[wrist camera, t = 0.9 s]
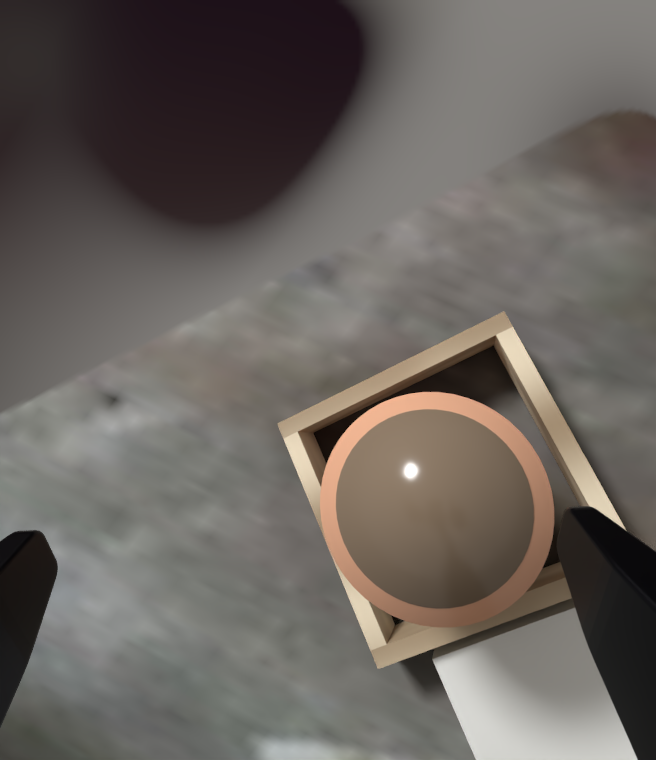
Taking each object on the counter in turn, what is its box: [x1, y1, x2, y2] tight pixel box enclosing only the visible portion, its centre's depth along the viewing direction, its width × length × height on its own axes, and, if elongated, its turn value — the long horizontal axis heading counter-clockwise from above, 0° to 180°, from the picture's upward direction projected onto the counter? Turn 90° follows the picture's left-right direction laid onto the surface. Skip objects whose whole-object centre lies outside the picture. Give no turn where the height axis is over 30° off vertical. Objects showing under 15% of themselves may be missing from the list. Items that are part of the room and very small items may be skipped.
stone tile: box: [432, 598, 638, 760], centre depth 19 cm, size 6×6×2 cm
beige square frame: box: [278, 312, 626, 669], centre depth 20 cm, size 10×10×2 cm
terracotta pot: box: [320, 392, 554, 627], centre depth 18 cm, size 6×6×8 cm
